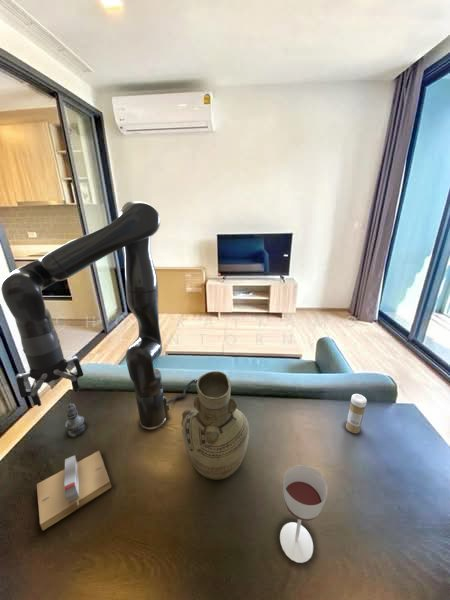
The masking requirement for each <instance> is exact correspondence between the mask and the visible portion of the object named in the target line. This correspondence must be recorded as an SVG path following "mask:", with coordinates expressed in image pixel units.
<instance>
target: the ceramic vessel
mask: <svg viewBox="0 0 450 600" xmlns="http://www.w3.org/2000/svg"><path fill="white" fill-rule="evenodd" d="M196 380H197V382H196V391H197V392H196V393H197V396H196V397H195V398H194V400H193V408H194V409H193V410H189V409H188V410H183V412H182V413H181V417H182V418H181V419H182V420H181V427H182V438H183V442H184V446H185V449H186V453H187V456H188V457H189V461H190V462H191V465H192V466H193V468H194V469H195V470H196V471H197V472H198V474H200V475H201V476H203V477H204V478H207V479H210V480H214V481H215V480H216V481H218V480H224V479H227V478H229V477H231V475H233V474H234V473H235V472H237V470H238V469H239V468H240V466H241V464H242V462H243V460H244V457H245V455H246V453H247V448H248V445H249V438H250V425H249V421H248V419H247V417H246V416H245V414H244V412H242V411H241V410H240V409H238V407H237V402H236V400H235V399H233V398H231V388H232V387H231V383H230V379H229V377H228V375H227V374H226V373H225V372H222V371H219V370H212V371H207V372H205V373H203V374H202V375H200V376H199V377H198V378H197V379H196Z"/></svg>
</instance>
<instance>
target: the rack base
mask: <svg viewBox="0 0 450 600" xmlns="http://www.w3.org/2000/svg"><path fill="white" fill-rule="evenodd" d="M77 463H78V481H79V497H78V498H76V499H74V500H72V501H70V502H68V501H67V498H66V495H65V493H64V479H65V468H64V469H62V470H60V471H59V472H57V473H55V474H52V475H51V476H49V477H47V478H45V479H44V480H42V481H40V482H38V483H36V494H37V504H38V505H37V506H38V517H39V526H40V528H41V531H45V530H47V529H48V528H50V527H52V526H53V525H55V524H56V523H58V522H59V521H61V520H62V519H64V518H65V517H67V516H69V515H71V514H72V513H73V512H75V511H77V510H78V509H80V508H82V507H83V506H84V505H86V504H88V503H89V502H91V501H93V500H94V499H96V498H97V497H99V496H100V495H102V494H104V493H105V492H107V491H109V489H111V488H112V484H111V479H110V477H109V475H108V471H107V469H106V466H105V463H104V459H103V458H102V454H101V452H100V450H97V451H96V452H94V453H92V454H90V455H88V456H86V457H84V458H83V459H80V460H79V461H77Z"/></svg>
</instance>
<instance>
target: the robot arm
mask: <svg viewBox="0 0 450 600" xmlns="http://www.w3.org/2000/svg"><path fill="white" fill-rule="evenodd" d="M160 227H161V217H160V214H159V212H158V210H157V209H156V208H155V207H154V206H152V205H151V204H150V203H148V202H145V201H138V200H130V201H127V202H126V203H124V204H123V205H122V206H121V208H120V210H119V214H118V217H117V218H116V219H114V220H113V221H112V222H110V223H109V224H107V225H105V226H103V227H101V228H100V229H97V230H94V231H93V232H90V233H88V234H84V235H82V236H80V237H77V238H74V239H72V240H69V241H68V242H66V243H64V244H62V245H61V246H59V247H57V248H55V249H52V250H51V251H50V252H48V253H46V254H45V255H43V256H42V257H41V258H38V259H36V260H33V261H31V262H29V263H26V264H25V265H22V266H20V267H18V268H16V269H15V270H12V272H10V273H9V274H8V275H7V276H6V277H5V278H4V280H2V283H1V287H0V288H1V289H0V291H1V294H2V298H3V301H4V303H5V305H6V306H7V308H8V310H9V312H10V313H11V315H12V317H13V318H14V320H15V325H16V328H17V330H18V334H19V337H20V342H21V347H22V351H23V353H24V355H25V359H26V361H27V365H28V367H29V371H27V372H25V373H22V372H18V373H16V377H15V379H16V384H17V387H18V392H19V396H20V398H23V399H24V398H26V397H31V401H32V403H33V405H34V406H37V407H40V406H42V401H41V398H40V394H39V390H41V387H42V386H43V385H44V384H49V383H51V382H52V381H56V380H59V379H60V378H63V379H66V380H70V382H71V385H72V389H73V392H74V393H76V392H78V389H79V388H80V386H79V381H78V380H79V378H81V377H83V376H84V371H83V368H82V366H81V363H80V360H79V358H78V356H77V355H76V354H74V355H72V357H71V358H68V359H65V357H64V352H63V349H62V346H61V341H60V339H59V335H58V333H57V330H56V328H55V325H54V322H53V318H52V315H51V312H50V310H49V309H48V308H47V307H46V304H45V300H44V296H43V292H42V291H43V290H45V289H46V288H48V287H50V286H52V285H53V284H55V283H57V282H62V281H66V280H67V279H69V278H71V277H73V276H74V275H76V274H78V273H79V272H81V271H83V270H84V269H86V268H89V266H91V265H93V264H94V263H96V262H98V261H100V260H102V259H104V258H105V257H107V256H109V255H111V254H112V253H114V252H117V251H118V250H121V249H124V277H125V278H124V280H125V295H126V304H127V307H128V309H129V310H130V312H131V314H132V315H133V316H134V317H135V319H136V321H137V325H138V338H137V340H136V341H135V342H134V343H132V344H131V345H130V346H129V347H128V348H127V349H126V352H125V362H126V367H127V370H128V375H129V378H130V380H131V382H132V384H133V388H134V395H135V399H136V406H137V410H138V412H137V413H138V417H139V424H140V427H141V428H142V429H143V430H146V431H154V430H157V429H159V428H161V427H162V426H163V425H164V424H165V423H166V421H167V420H169V412H168V411H170V405H169V404H170V403H173V402H174V401H176V400H181V399H184V398H185V397H186V394H187V393H186V391H187V390H188V388H189V387H190V386H191V385H192V384H193V383H197V380H198V379H192V380H191V381H190V382H188V383H187V384H186V386H185V387H184V389H183V393H182V395H180V396H176V397H173V398H170V399H169V400H167V397H166V396H165V395H164V394H165V393H164V387H163V378H162V373H161V371H160V370H159V369H158V368H156V367H154V364H155V362H156V361H157V360H158V359H159V358H160V356H161V354H162V352H163V342H162V336H161V328H160V316H159V314H160V313H159V283H158V282H159V281H158V276H157V272H156V268H155V264H154V261H153V257H152V251H151V237H153V236H154V235H155V234H156V233H157V232H158V230H159V228H160ZM68 365H70V366H72V367H75V370H76V371H75V372H73V371H71V370H70V369H68V368H67V367H68ZM29 378H31V379H34V380H33V382H32V385H31V387H30V388H27V387H26V383H27V382H28V379H29ZM195 380H196V381H195Z"/></svg>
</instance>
